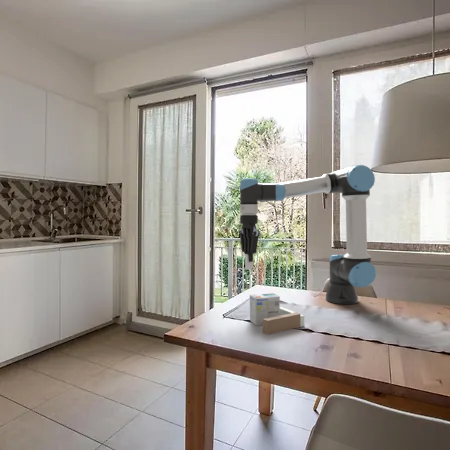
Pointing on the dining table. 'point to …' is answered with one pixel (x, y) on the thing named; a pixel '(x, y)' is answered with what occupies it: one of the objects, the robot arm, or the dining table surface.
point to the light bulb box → (264, 307)
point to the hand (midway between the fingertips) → (248, 268)
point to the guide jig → (283, 321)
